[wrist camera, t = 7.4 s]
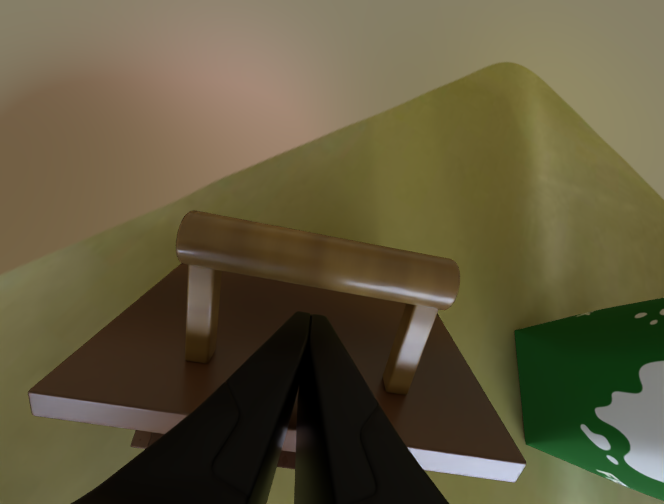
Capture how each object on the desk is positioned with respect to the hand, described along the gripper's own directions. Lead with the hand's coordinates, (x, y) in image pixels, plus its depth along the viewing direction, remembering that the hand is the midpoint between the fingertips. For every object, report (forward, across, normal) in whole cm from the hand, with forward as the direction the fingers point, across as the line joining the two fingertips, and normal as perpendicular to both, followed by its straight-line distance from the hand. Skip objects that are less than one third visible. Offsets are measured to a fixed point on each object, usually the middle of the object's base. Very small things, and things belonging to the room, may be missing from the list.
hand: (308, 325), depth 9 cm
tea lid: (+2, 0, +3) cm, 3 cm away
